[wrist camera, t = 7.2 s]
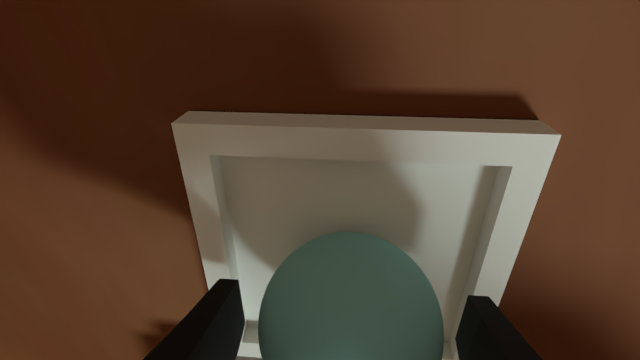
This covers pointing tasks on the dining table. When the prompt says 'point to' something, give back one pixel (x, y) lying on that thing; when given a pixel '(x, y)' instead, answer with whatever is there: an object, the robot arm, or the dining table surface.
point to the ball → (350, 304)
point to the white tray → (363, 196)
